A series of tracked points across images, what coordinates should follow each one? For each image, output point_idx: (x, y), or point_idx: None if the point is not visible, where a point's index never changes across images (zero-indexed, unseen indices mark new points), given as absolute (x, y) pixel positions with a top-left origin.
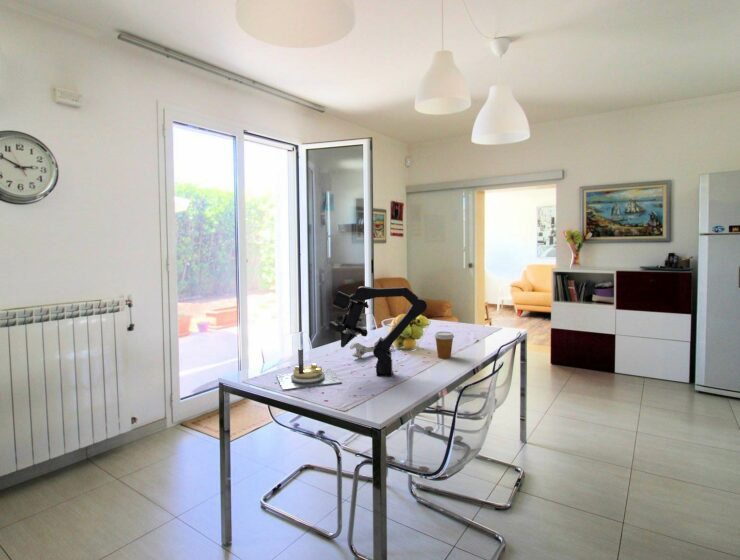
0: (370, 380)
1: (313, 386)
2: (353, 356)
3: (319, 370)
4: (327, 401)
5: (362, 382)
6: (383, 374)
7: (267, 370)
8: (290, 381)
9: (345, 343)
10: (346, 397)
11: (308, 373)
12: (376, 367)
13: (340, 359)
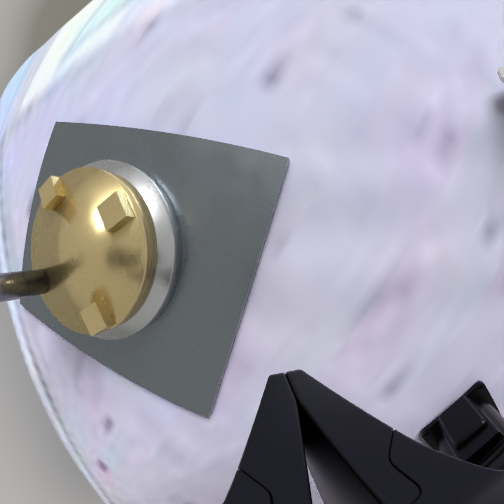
0: None
1: (94, 355)
2: (501, 78)
3: (100, 331)
4: (104, 471)
5: None
6: (438, 448)
7: (82, 44)
8: None
9: (311, 468)
10: (159, 497)
11: (60, 310)
12: (447, 437)
13: (435, 37)
